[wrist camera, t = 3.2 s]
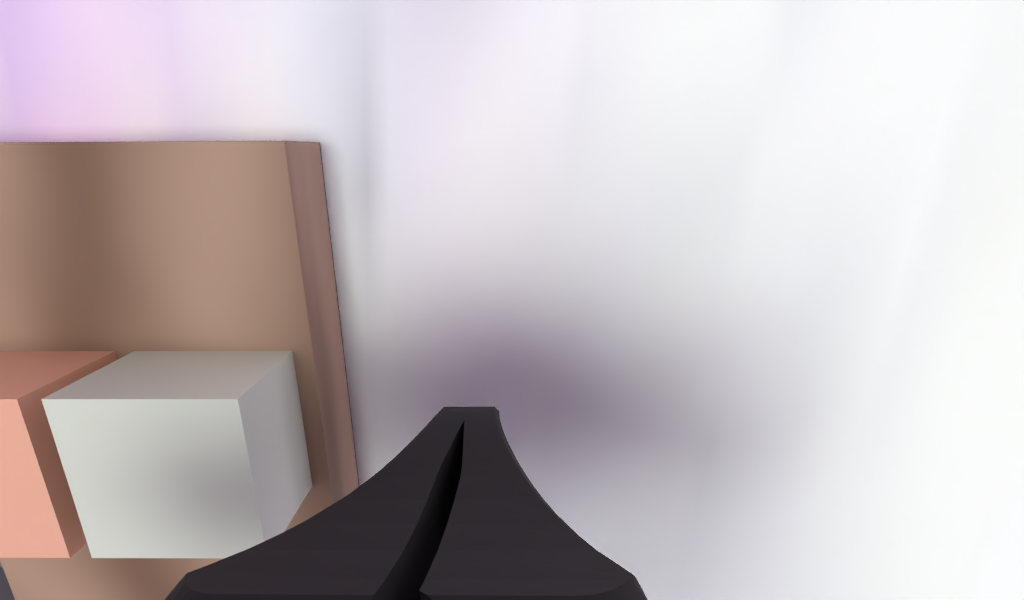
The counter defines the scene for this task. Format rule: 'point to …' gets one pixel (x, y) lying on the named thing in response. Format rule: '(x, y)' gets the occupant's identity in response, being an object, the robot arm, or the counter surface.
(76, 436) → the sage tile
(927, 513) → the counter surface
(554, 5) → the counter surface
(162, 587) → the walnut board
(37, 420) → the terracotta tile
